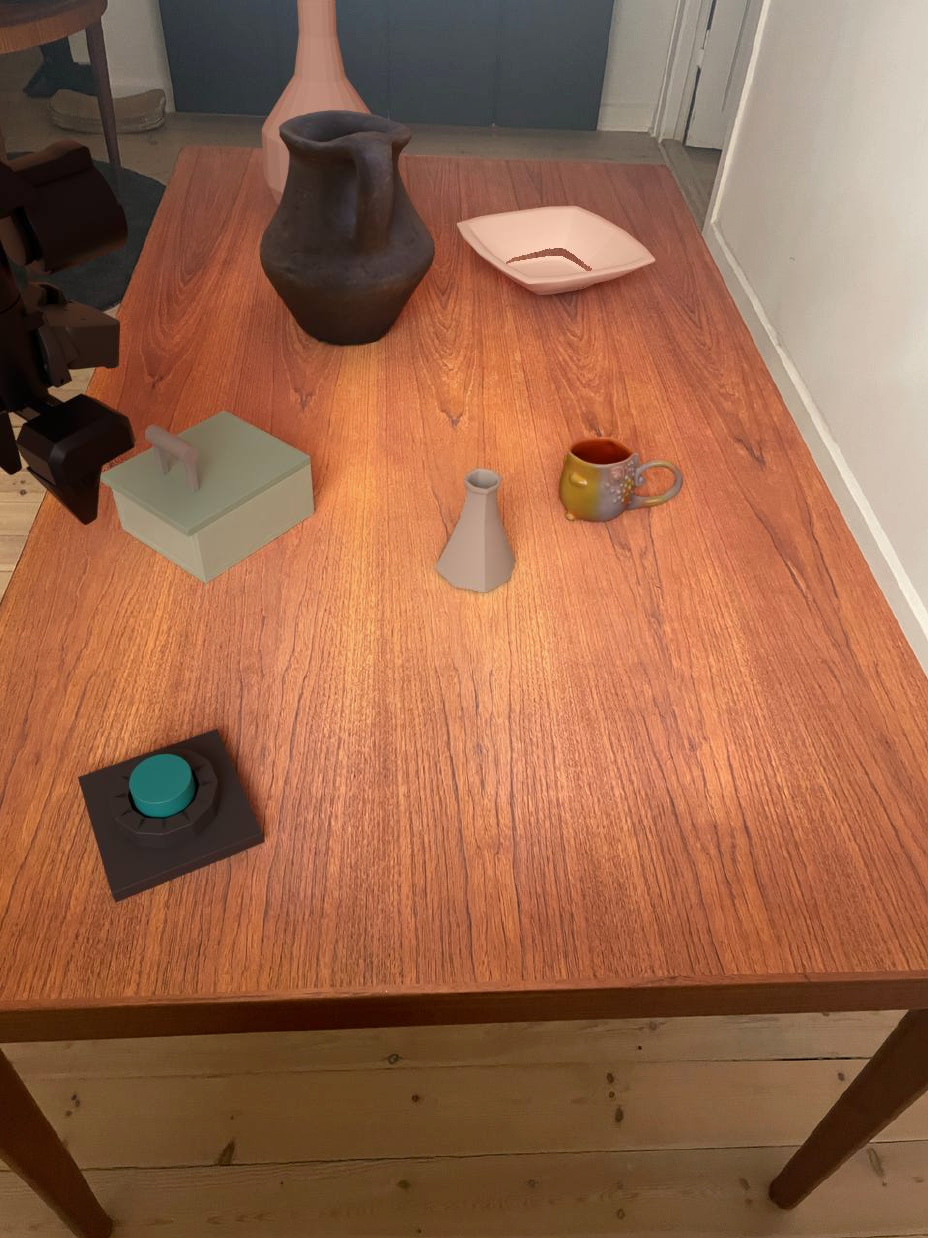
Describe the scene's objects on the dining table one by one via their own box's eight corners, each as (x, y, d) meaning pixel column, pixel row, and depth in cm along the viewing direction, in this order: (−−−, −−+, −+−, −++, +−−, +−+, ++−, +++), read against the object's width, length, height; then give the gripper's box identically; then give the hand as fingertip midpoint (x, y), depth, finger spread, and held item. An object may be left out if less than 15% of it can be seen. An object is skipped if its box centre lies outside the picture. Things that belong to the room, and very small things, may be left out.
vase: (253, 240, 132) (227, -6, 111) (286, 196, 145) (269, -31, 124) (371, 253, 131) (368, 8, 110) (394, 209, 144) (395, -19, 123)
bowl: (440, 260, 131) (442, 220, 127) (576, 238, 139) (581, 200, 135) (516, 330, 117) (521, 287, 113) (662, 301, 126) (671, 260, 122)
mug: (555, 522, 89) (564, 466, 85) (557, 481, 94) (566, 426, 89) (677, 536, 89) (693, 480, 84) (673, 494, 94) (687, 439, 89)
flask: (528, 561, 85) (540, 473, 78) (488, 604, 80) (497, 515, 73) (463, 532, 87) (469, 444, 80) (420, 572, 83) (423, 483, 76)
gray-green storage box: (205, 584, 80) (196, 533, 76) (122, 529, 85) (108, 478, 81) (314, 513, 88) (311, 463, 84) (232, 466, 93) (225, 417, 89)
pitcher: (394, 281, 125) (395, 77, 108) (462, 356, 112) (475, 136, 94) (248, 303, 118) (223, 89, 101) (301, 385, 105) (283, 154, 87)
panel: (115, 903, 58) (105, 879, 56) (81, 786, 65) (71, 761, 62) (264, 842, 62) (260, 818, 60) (219, 738, 68) (213, 712, 66)
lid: (188, 537, 76) (177, 484, 72) (100, 481, 80) (86, 429, 76) (310, 463, 84) (307, 412, 80) (225, 416, 89) (217, 366, 85)
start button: (142, 827, 60) (137, 812, 58) (127, 781, 62) (122, 766, 61) (202, 804, 61) (198, 789, 60) (185, 760, 64) (181, 745, 62)
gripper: (172, 298, 57) (218, 492, 68) (-1, 215, 65) (67, 402, 76) (16, 374, 51) (95, 573, 62) (-154, 273, 59) (-56, 467, 70)
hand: (51, 495), depth 68 cm, fingers open, 9 cm apart
